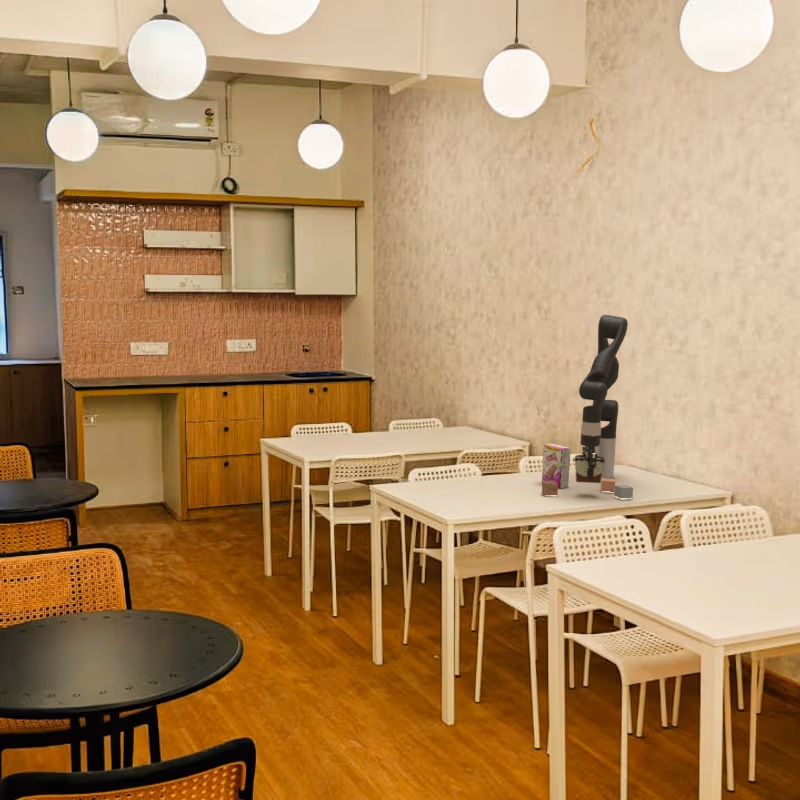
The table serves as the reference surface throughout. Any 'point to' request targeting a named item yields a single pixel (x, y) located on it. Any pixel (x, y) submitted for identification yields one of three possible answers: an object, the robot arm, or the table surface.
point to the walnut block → (549, 488)
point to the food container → (582, 469)
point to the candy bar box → (556, 464)
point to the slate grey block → (623, 491)
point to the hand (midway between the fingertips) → (588, 475)
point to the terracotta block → (607, 484)
